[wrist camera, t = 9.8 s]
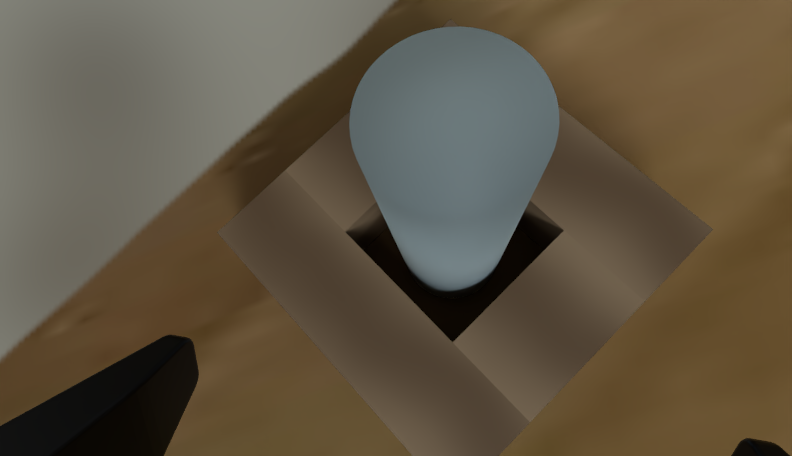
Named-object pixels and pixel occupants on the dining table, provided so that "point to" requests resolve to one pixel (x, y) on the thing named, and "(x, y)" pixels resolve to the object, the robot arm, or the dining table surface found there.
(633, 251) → the socket block
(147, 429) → the robot arm
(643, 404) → the dining table surface
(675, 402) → the dining table surface
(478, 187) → the peg
